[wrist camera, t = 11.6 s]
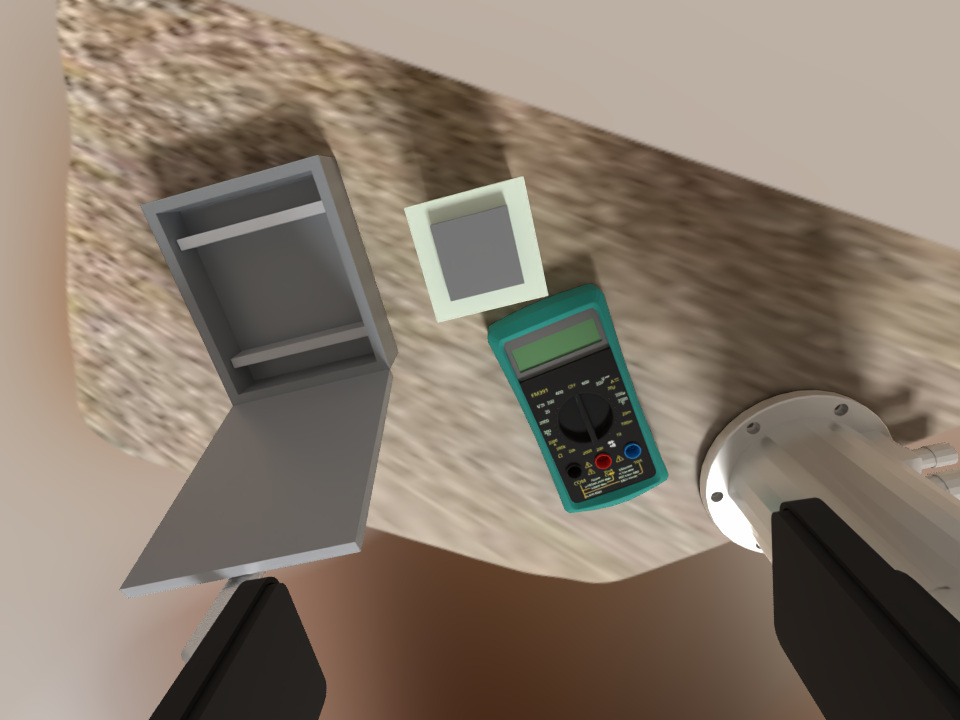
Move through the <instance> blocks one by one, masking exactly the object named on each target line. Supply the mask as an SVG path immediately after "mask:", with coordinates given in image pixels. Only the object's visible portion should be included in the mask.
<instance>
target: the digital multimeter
mask: <svg viewBox="0 0 960 720" xmlns="http://www.w3.org/2000/svg"><path fill="white" fill-rule="evenodd" d="M488 343H489V345H490V346H491V348H492V350H493V352H494V354H495V356H496V358H497V360H498V362H499V364H500V366H501V368H502V370H503V372H504V374H505V376H506V378H507V379H508V381H509V383H510V385H511V387H512V389H513V391H514V393H515V395H516V397H517V399H518V401H519V403H520V406H521V408H522V410H523V412H524V414H525V416H526V418H527V420H528V423H529V425H530V427H531V429H532V431H533V433H534V435H535V437H536V440H537V442H538V445H539V447H540V449H541V452H542V454H543V456H544V459H545V461H546V464H547V466H548V468H549V471H550V473H551V476H552V478H553V481H554V483H555V486H556V488H557V491H558V493H559V496H560V499H561V501H562V504H563V506H564V509H565V510H566V511H567V512H569V513H575V512H582V511H590V510H596V509H601V508H606V507H610V506H614V505H617V504H620V503H623V502H625V501H628V500H631V499H633V498H635V497H637V496H639V495H641V494H643V493H645V492H647V491H648V490H650V489H652V488H654V487H655V486H657V485H659V484H660V483H662V482H664V481H665V480H667V478H668V472H667V469H666V467H665V465H664V462H663V460H662V458H661V455H660V453H659V451H658V448H657V446H656V444H655V441H654V439H653V436H652V434H651V431H650V429H649V426H648V424H647V421H646V419H645V416H644V414H643V411H642V409H641V406H640V404H639V401H638V399H637V396H636V393H635V390H634V387H633V384H632V381H631V378H630V375H629V373H628V370H627V367H626V364H625V361H624V358H623V355H622V352H621V349H620V346H619V342H618V339H617V336H616V333H615V329H614V326H613V323H612V319H611V316H610V313H609V310H608V306H607V303H606V300H605V297H604V294H603V293H602V291H601V290H600V289H599V288H598V287H597V286H596V285H594V284H586V285H583V286H580V287H577V288H574V289H571V290H567V291H565V292H562V293H559V294H556V295H553V296H550V297H548V298H545V299H543V300H540V301H538V302H536V303H533V304H531V305H529V306H527V307H524V308H522V309H520V310H518V311H516V312H514V313H512V314H510V315H508V316H506V317H504V318H503V319H501V320H499V321H497V322H495V323H493V324H492V325H490V326H489V328H488ZM555 424H556V425H555ZM646 444H647V445H646ZM554 462H555V463H554ZM653 463H654V464H653ZM558 471H559V472H558ZM562 480H563V481H562ZM566 489H567V490H566Z"/></svg>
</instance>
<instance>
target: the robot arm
mask: <svg viewBox="0 0 960 720" xmlns="http://www.w3.org/2000/svg"><path fill="white" fill-rule="evenodd" d="M958 459H959V458H958V453H957V452H956V450H955V448H954V447H953V446H951V445H950V444H949V443H945V442H944V443H938V444H933V445H928V446H923V447H921V448H919V449H914V450H910V449H909V448H907V447H903V446H901V445H900V444H898V443H896V442H895V441H893V439H892V437H891V435H890V432H889V430H888V428H887V427H886V425H885V424H884V423H883V421H882V420H881V419H880V418H879V416H877V415H876V414H875V413H874V412H872V411H871V410H870V409H868V408H867V407H866V406H864V405H862V404H860V403H859V402H857V401H855V400H853V399H851V398H849V397H847V396H844V395H841V394H838V393H835V392H828V391H821V390H804V391H794V392H790V393H785V394H780V395H777V396H774V397H772V398H769V399H767V400H764V401H761V402H759V403H758V404H756V405H754V406H752V407H751V408H749V409H747V410H745V411H744V412H742V413H741V414H740V415H739V416H737V417H736V418H735V419H734V420H732V421H731V422H730V423H729V424H728V425H727V426H726V427H725V428H724V429H723V430H722V432H721V433H720V434H719V435H718V436H717V437H716V439H715V441H714V442H713V444H712V445H711V447H710V449H709V450H708V452H707V455H706V457H705V460H704V462H703V465H702V470H701V476H700V495H701V498H702V502H703V505H704V508H705V510H706V511H707V513H708V515H709V517H710V518H711V520H712V521H713V523H714V524H715V525H716V527H717V528H718V529H719V530H720V532H721V533H722V534H724V535H725V536H726V537H727V538H728V539H730V540H731V541H732V542H734V543H736V544H738V545H740V546H742V547H744V548H746V549H749V550H753V551H756V552H761V553H764V554H765V555H766V556H767V558H768V559H769V560H770V562H771V563H772V567H773V596H774V597H773V598H774V626H775V631H776V634H777V637H778V640H779V642H780V645H781V646H782V648H783V650H784V652H785V653H786V655H787V657H788V658H789V660H790V662H791V663H792V665H793V666H794V668H795V670H796V671H797V673H798V675H799V676H800V678H801V679H802V681H803V683H804V684H805V686H806V688H807V689H808V691H809V693H810V694H811V696H812V697H813V699H814V701H815V702H816V704H817V706H818V707H819V709H820V710H821V712H822V714H823V715H824V717H825V719H826V720H960V468H957V469H952V470H946V471H941V472H936V473H932V474H927V475H926V476H923V475H922V474H921V472H922V469H925V468H936V467H941V466H946V465H951V464H955V463H957V461H958ZM325 698H326V680H325V678H324V675H323V672H322V670H321V668H320V666H319V663H318V661H317V658H316V656H315V653H314V651H313V649H312V646H311V644H310V641H309V639H308V637H307V634H306V632H305V629H304V627H303V625H302V623H301V620H300V617H299V615H298V613H297V610H296V608H295V606H294V603H293V601H292V598H291V596H290V594H289V591H288V589H287V587H286V585H285V584H283V583H279V581H278V580H277V579H276V578H275V577H266V578H259V579H252V580H246V581H244V582H242V583H241V584H240V585H239V586H238V588H237V589H236V591H235V592H234V594H233V595H232V596H231V598H230V599H229V601H228V602H227V604H226V605H225V607H224V608H223V610H222V611H221V613H220V614H219V616H218V617H217V619H216V620H215V622H214V623H213V625H212V626H211V628H210V629H209V631H208V632H207V634H206V635H205V637H204V638H203V640H202V641H201V643H200V644H199V646H198V647H197V649H196V650H195V652H194V653H193V655H192V656H191V658H190V659H189V661H188V662H187V663H186V665H185V667H184V668H183V670H182V671H181V672H180V674H179V675H178V677H177V679H176V680H175V681H174V683H173V684H172V686H171V687H170V689H169V690H168V692H167V693H166V695H165V696H164V698H163V699H162V701H161V702H160V704H159V705H158V707H157V708H156V710H155V711H154V713H153V714H152V716H151V717H150V719H149V720H318V719H319V716H320V713H321V710H322V707H323V705H324V701H325Z"/></svg>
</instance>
